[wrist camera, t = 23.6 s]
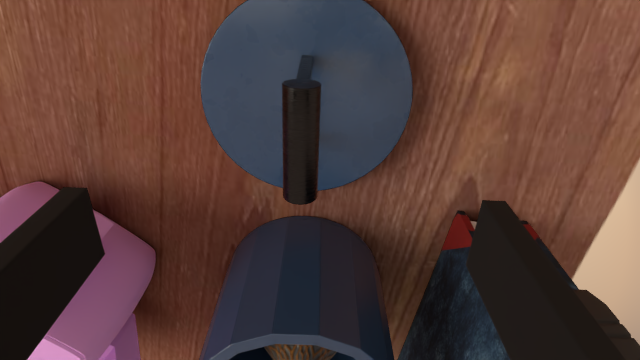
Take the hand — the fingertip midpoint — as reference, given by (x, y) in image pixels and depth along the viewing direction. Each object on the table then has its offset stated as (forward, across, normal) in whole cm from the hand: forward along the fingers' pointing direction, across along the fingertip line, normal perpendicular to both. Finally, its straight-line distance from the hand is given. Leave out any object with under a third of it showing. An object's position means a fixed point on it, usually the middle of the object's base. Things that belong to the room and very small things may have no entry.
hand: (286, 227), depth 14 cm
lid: (+15, 0, 0) cm, 15 cm away
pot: (+15, 0, -16) cm, 22 cm away
